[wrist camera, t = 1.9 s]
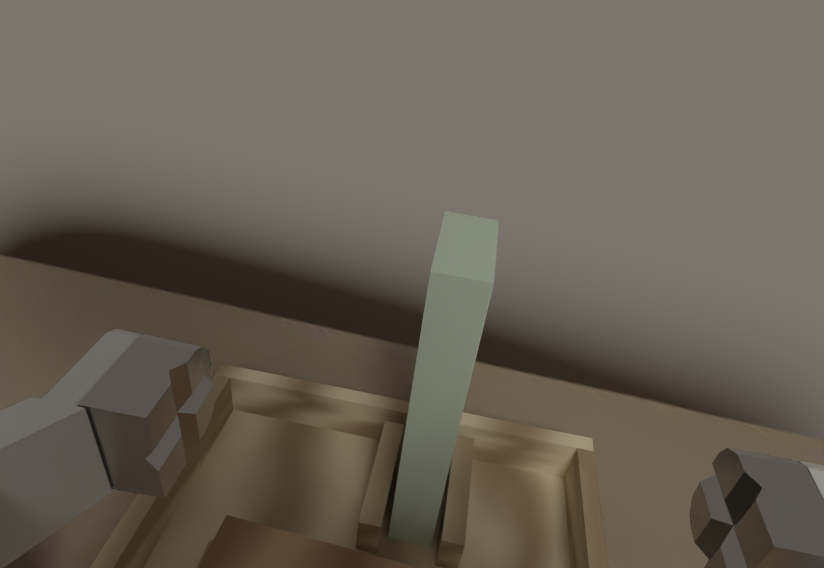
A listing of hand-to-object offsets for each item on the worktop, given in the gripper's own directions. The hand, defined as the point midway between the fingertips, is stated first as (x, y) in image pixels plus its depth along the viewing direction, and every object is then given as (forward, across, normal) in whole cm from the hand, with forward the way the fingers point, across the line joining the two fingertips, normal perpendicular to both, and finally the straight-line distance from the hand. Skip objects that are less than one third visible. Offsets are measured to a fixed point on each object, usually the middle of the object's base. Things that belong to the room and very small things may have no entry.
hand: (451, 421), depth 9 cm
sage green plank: (+14, 0, +23) cm, 27 cm away
